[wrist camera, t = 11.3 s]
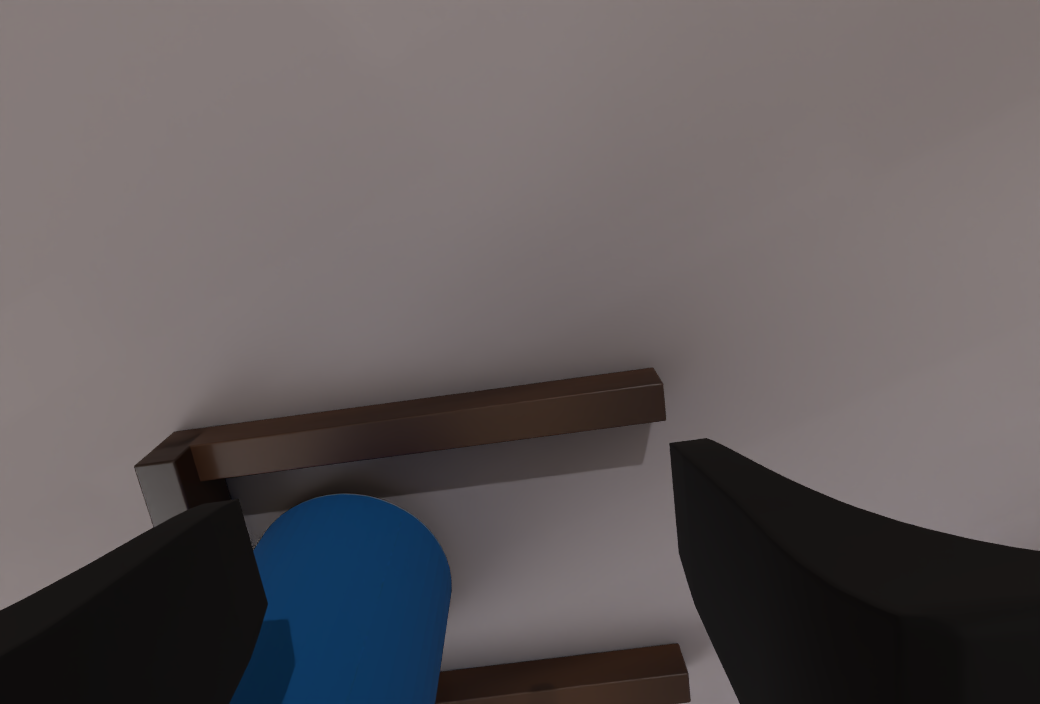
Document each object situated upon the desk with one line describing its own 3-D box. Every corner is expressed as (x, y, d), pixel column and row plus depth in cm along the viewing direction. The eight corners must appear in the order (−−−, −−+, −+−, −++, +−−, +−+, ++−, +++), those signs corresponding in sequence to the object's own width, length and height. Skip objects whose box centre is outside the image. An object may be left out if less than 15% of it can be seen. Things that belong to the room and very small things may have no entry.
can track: (653, 366, 22) (670, 394, 19) (681, 670, 25) (698, 726, 23) (173, 431, 22) (132, 465, 20) (261, 720, 26) (234, 780, 23)
